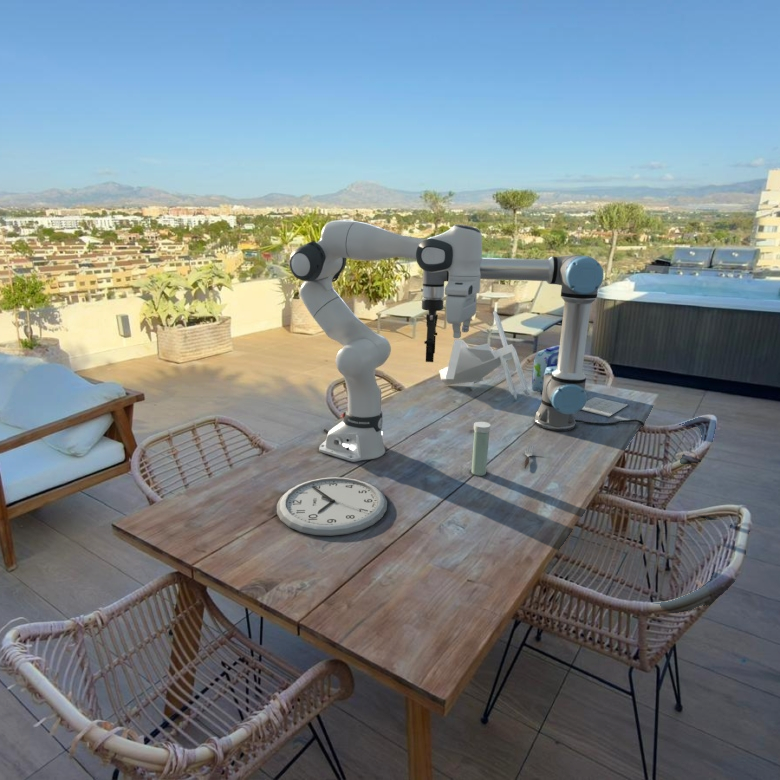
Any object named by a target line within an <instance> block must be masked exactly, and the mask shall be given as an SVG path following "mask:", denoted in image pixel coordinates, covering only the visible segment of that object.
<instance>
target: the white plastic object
mask: <svg viewBox="0 0 780 780" xmlns="http://www.w3.org/2000/svg"><path fill="white" fill-rule="evenodd" d="M492 315H493V319H494V321H495V324H496V325H495V326H496V328H497V332H498V335H499V338H500V342H501V345H502V347H500V348H498V349H496V350H495V349H493V348H492V347H491V346H490V344H489V343H488V342H487V343H483V344H479V345H473V346H469V345H468V343H466V342H465V340H464V339H463V338H454V340H453V344H452V349H451V353H450V357H449V362H448V366H446V367H444V368H442V369H440V370H439V371H438V372H439V376H440V381H442V383H443V384H444V385H445V386H449V385H458V384H467V383H468V384H469V383H473V384H477V383H480V382H482V381H484V378H485V377H486V376H487V375H489V374H490V373H492V372H494V371H495V370H496V369H497V368H499V367H500V366H502V370H503V373H504V376H505V380H506V383H507V386H508V390H509V393H510V394H511V395H512V397H513V398H514V399H515V400H517V392H516V391H517V390H516V388H515V385H514V381H513V378H512V375H511V371H510V369H509V365H508V361H510V360H513V363H514V366H515V369H516V372H517V376H518V380H519V382H520V385H521V389H522V391H523V393H524V395H525V396H526V397H528V396H531V395H530V390H529V388H528V387H529V386H528V384H527V381H526V378H525V375H524V371H523V369H522V368H523V367H522V366H521V362H520V359H519V355H518V352H517V349H516V347H515V346H514V345H513V343H511V344H508V341H507V337H506V334H505V331H504V328H503V325H502V321H501V318H500V315H499V314H498V312H497V311H496V310H495V311H492Z"/></svg>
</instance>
